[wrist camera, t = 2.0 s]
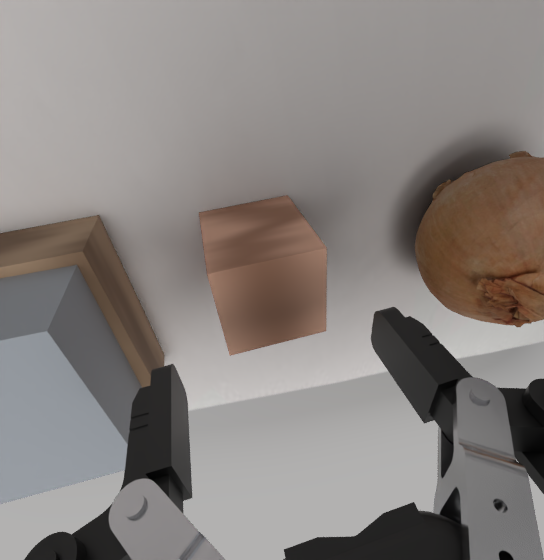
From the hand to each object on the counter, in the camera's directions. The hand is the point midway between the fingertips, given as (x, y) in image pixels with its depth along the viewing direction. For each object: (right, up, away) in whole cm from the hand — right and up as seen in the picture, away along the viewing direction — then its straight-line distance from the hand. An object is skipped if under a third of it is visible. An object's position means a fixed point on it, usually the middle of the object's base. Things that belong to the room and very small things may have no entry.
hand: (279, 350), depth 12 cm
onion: (+12, +7, +9) cm, 17 cm away
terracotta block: (-2, +5, +7) cm, 9 cm away
